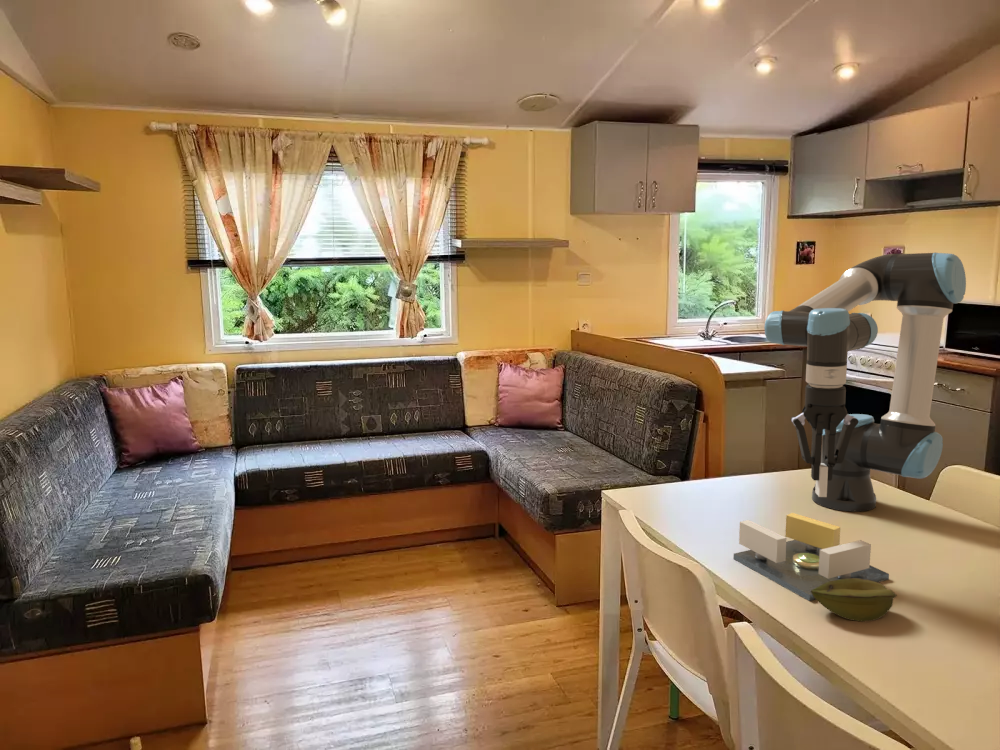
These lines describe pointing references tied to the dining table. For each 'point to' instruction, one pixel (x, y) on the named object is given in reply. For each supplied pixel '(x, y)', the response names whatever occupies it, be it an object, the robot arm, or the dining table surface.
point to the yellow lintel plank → (812, 532)
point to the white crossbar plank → (762, 541)
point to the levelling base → (800, 569)
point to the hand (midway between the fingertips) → (820, 494)
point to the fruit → (855, 598)
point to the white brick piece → (844, 559)
